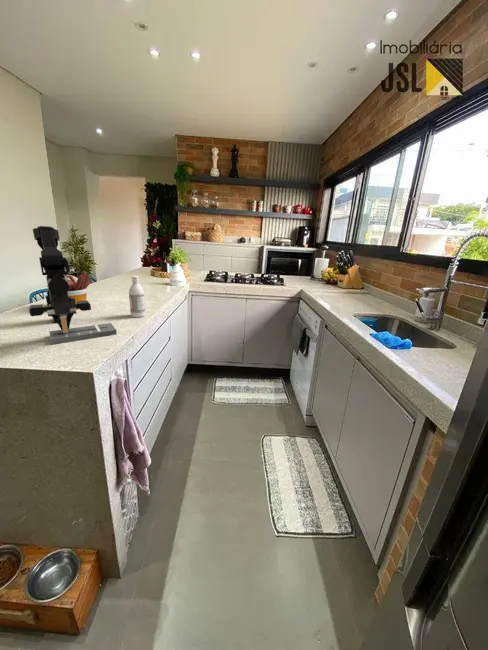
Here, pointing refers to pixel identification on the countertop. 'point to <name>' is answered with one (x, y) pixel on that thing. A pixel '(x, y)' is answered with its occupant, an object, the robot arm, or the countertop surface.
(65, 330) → the fader tab
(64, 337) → the console
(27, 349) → the countertop surface
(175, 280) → the honey pot
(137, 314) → the bath foam
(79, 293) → the bucket of meat
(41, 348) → the countertop surface
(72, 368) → the countertop surface
